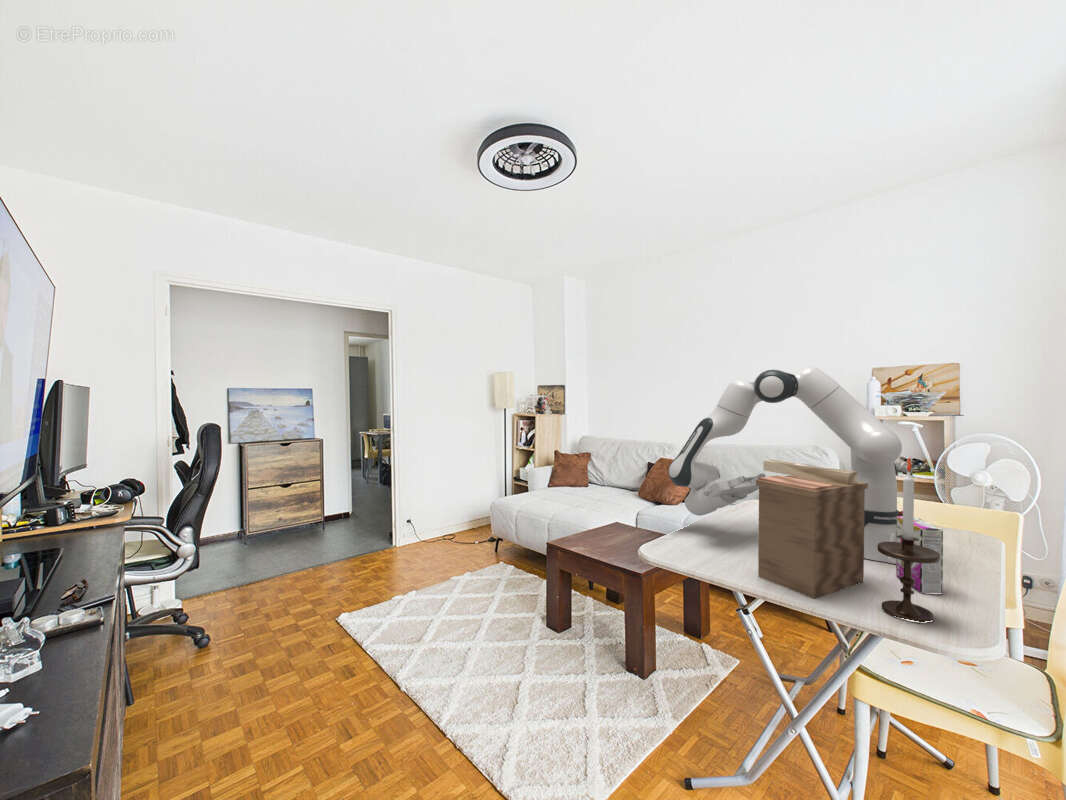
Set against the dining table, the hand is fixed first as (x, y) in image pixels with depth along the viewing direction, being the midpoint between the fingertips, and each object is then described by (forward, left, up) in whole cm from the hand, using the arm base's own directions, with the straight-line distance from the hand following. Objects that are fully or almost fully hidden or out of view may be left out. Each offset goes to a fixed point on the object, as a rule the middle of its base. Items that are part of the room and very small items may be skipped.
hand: (754, 477), depth 144 cm
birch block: (-6, +16, +3) cm, 17 cm away
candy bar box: (-26, +30, -23) cm, 46 cm away
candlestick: (-10, +43, -23) cm, 49 cm away
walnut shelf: (-2, +23, -23) cm, 32 cm away
